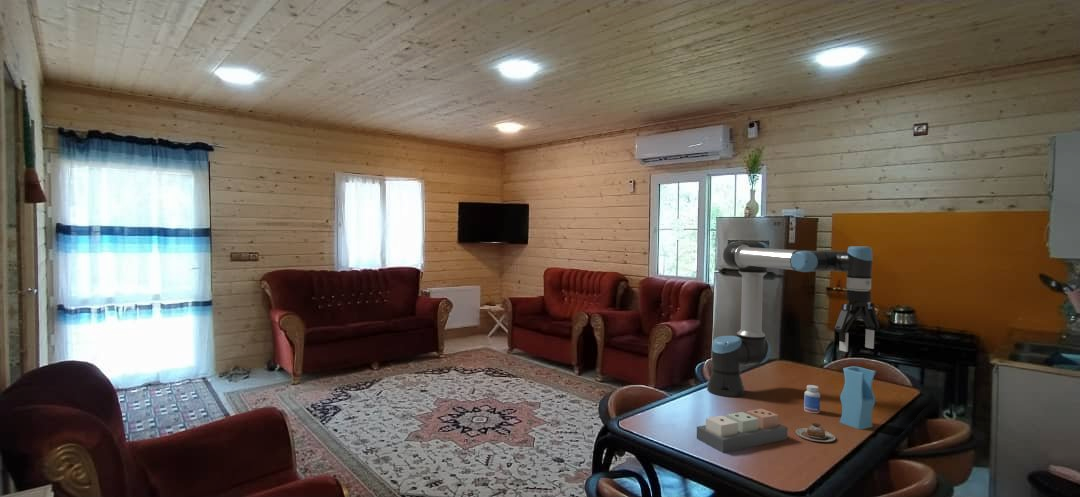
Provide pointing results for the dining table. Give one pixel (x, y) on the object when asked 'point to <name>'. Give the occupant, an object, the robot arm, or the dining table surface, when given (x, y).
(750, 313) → the robot arm
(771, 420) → the key
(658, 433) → the dining table surface
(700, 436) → the keypad
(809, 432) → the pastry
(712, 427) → the key
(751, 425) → the key
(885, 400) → the dining table surface
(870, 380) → the vase
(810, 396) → the pill bottle
